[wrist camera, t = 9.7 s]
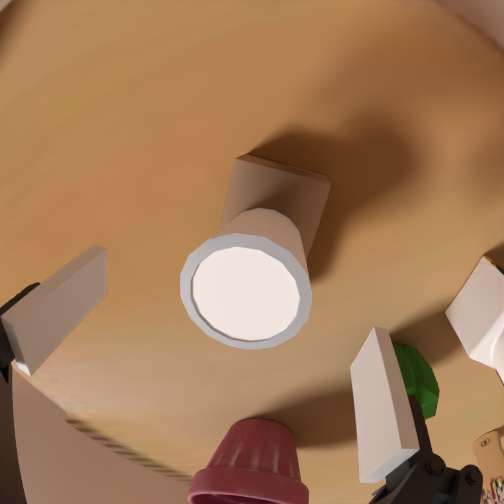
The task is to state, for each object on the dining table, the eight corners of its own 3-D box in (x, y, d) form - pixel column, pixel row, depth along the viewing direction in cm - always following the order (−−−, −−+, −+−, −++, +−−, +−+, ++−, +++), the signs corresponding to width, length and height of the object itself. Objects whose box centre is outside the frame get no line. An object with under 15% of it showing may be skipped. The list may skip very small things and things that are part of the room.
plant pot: (311, 405, 33) (304, 498, 21) (314, 457, 38) (308, 528, 26) (200, 403, 36) (168, 483, 24) (225, 454, 41) (205, 519, 29)
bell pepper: (423, 374, 28) (444, 443, 19) (356, 392, 31) (362, 464, 22) (423, 319, 26) (456, 392, 17) (345, 339, 28) (353, 420, 19)
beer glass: (472, 437, 33) (490, 507, 19) (505, 423, 31) (527, 488, 17) (466, 454, 35) (479, 517, 21) (496, 441, 33) (514, 501, 19)
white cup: (284, 181, 19) (273, 208, 13) (326, 269, 21) (333, 328, 15) (197, 224, 22) (154, 266, 15) (243, 301, 23) (221, 363, 17)
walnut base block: (218, 274, 28) (205, 297, 24) (246, 153, 23) (235, 158, 19) (288, 294, 27) (284, 320, 24) (327, 176, 23) (331, 185, 19)
